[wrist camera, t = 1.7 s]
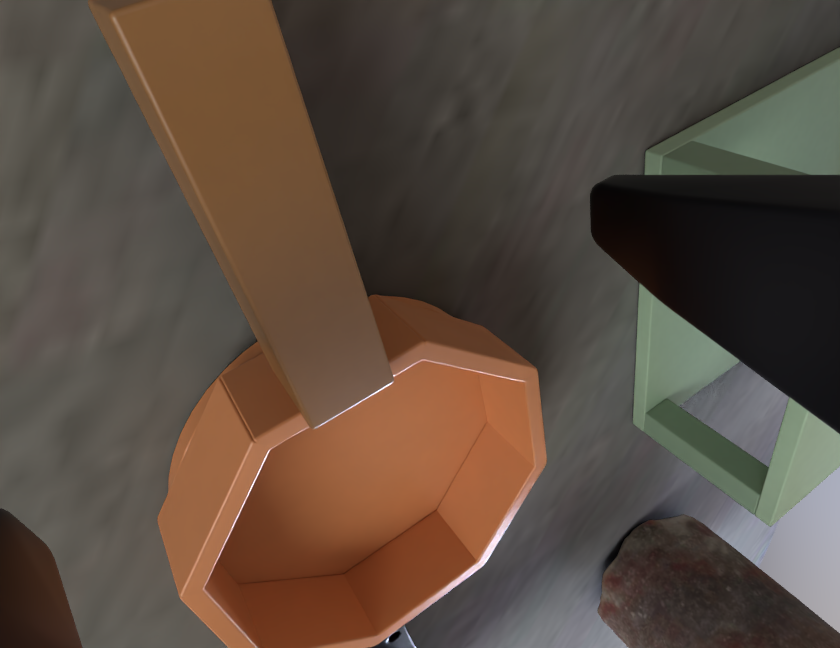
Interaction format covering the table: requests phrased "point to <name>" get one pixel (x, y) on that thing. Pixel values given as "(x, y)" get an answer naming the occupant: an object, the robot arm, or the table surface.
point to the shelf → (695, 352)
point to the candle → (700, 595)
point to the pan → (313, 368)
